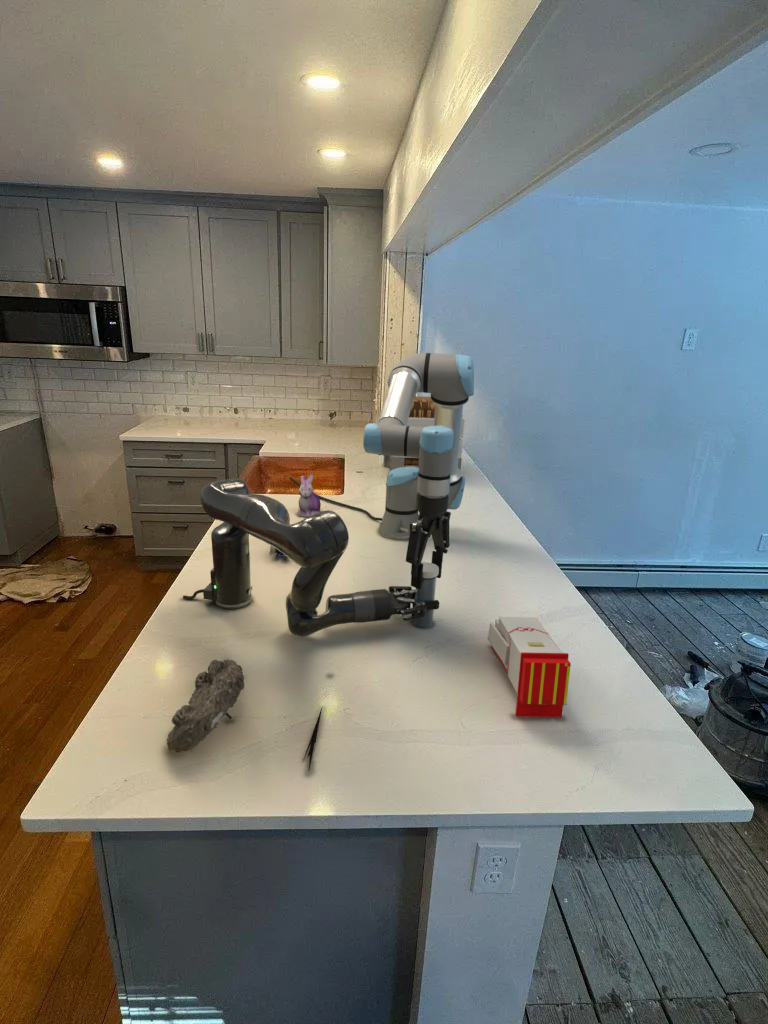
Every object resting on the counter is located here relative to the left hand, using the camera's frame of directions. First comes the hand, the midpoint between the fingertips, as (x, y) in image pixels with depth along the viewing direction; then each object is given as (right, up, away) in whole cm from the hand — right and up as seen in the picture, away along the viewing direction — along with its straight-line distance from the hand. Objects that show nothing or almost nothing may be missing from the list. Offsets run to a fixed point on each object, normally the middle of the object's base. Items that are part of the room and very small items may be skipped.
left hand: (434, 599), depth 143 cm
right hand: (-2, +5, -3) cm, 6 cm away
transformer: (+5, +41, +132) cm, 138 cm away
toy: (+17, -14, -18) cm, 29 cm away
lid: (-2, +8, -4) cm, 9 cm away
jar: (-3, -6, +1) cm, 7 cm away
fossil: (-45, -17, -35) cm, 60 cm away
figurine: (-41, +21, +73) cm, 86 cm away
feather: (-25, -18, -34) cm, 46 cm away
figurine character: (-45, +9, +38) cm, 59 cm away
